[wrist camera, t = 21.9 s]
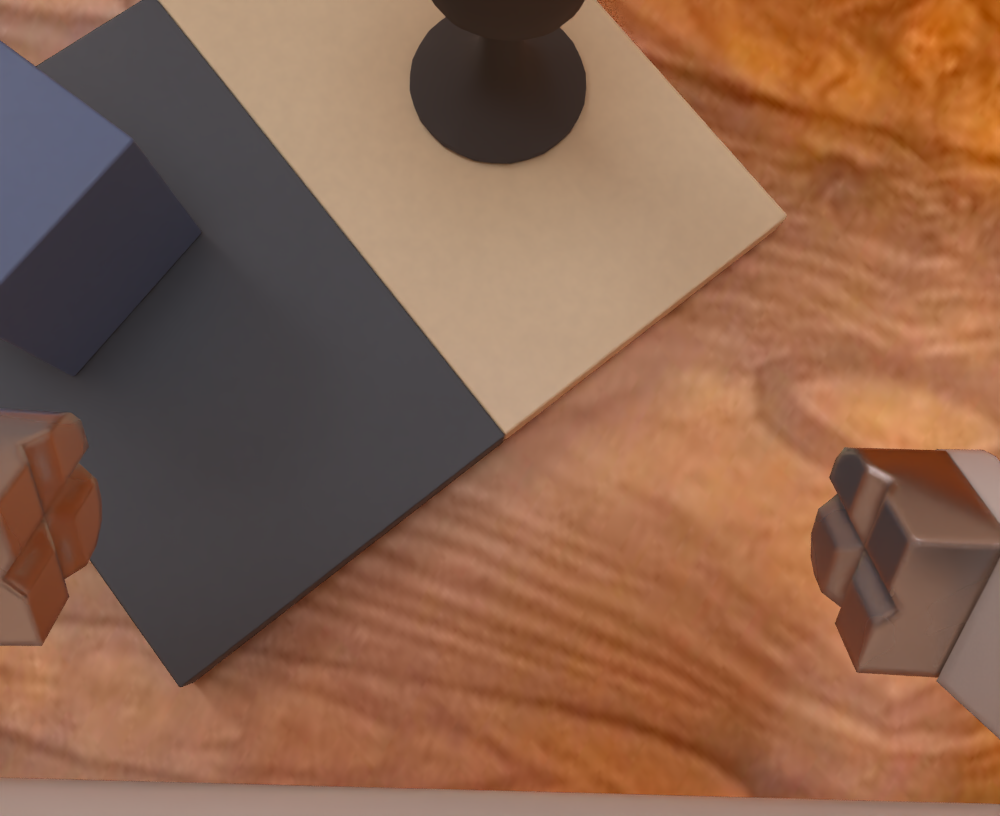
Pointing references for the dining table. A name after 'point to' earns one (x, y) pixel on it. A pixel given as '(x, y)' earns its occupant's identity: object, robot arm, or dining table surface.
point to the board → (353, 291)
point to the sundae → (499, 78)
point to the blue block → (75, 220)
